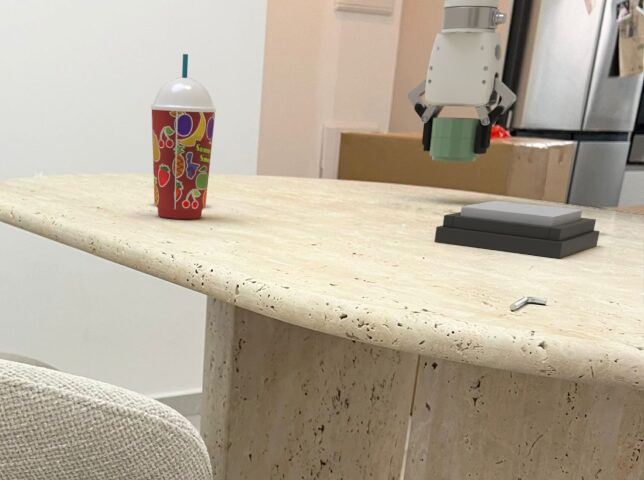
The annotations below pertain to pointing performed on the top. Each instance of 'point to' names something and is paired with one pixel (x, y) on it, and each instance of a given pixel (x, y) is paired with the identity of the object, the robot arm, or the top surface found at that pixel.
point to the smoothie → (182, 146)
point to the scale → (518, 235)
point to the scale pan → (522, 213)
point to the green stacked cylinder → (454, 139)
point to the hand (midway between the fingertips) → (454, 151)
